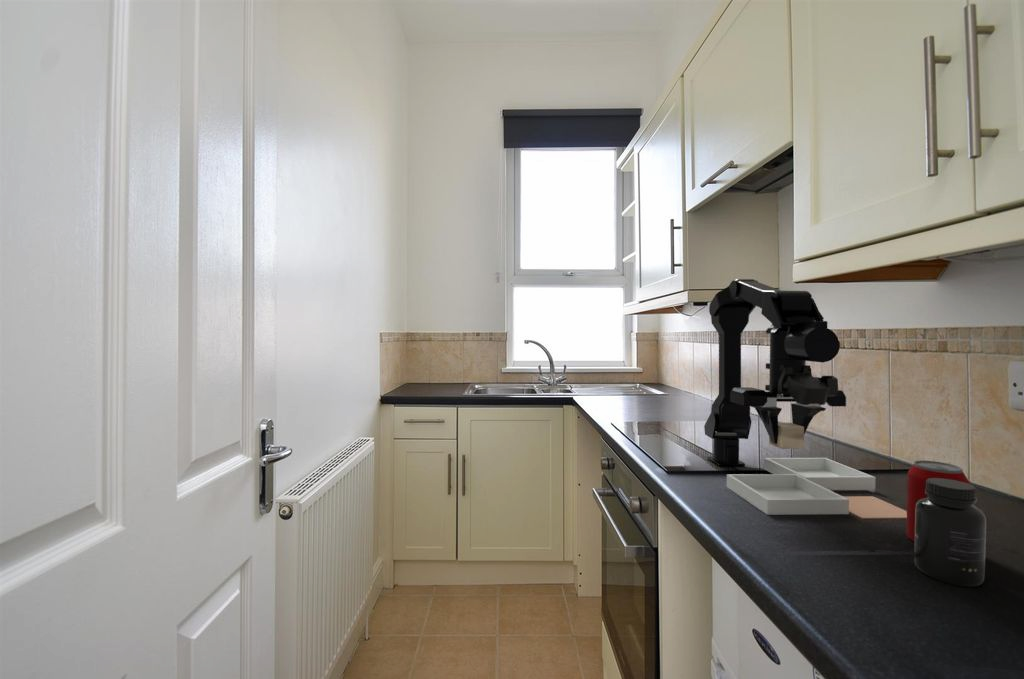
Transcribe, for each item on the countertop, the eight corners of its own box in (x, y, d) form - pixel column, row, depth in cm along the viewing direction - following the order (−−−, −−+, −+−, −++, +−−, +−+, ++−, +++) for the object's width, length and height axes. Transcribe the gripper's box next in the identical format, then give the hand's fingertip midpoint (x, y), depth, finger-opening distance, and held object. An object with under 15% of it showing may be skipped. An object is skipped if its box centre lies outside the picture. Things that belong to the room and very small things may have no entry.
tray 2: (763, 471, 107) (764, 457, 107) (825, 470, 107) (825, 457, 107) (804, 492, 93) (805, 477, 93) (875, 492, 93) (875, 477, 93)
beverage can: (949, 539, 72) (951, 461, 72) (979, 559, 66) (981, 474, 66) (897, 533, 74) (898, 457, 74) (921, 553, 68) (923, 469, 67)
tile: (821, 499, 89) (821, 496, 89) (873, 499, 89) (873, 496, 89) (862, 521, 79) (862, 517, 79) (920, 520, 79) (920, 517, 79)
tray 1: (726, 489, 95) (726, 474, 94) (796, 488, 95) (796, 474, 95) (767, 517, 80) (767, 499, 80) (848, 516, 81) (849, 499, 81)
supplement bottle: (901, 560, 66) (902, 474, 65) (954, 562, 65) (956, 476, 65) (940, 586, 59) (942, 490, 59) (1001, 590, 58) (1003, 493, 58)
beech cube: (769, 443, 89) (769, 422, 89) (789, 443, 89) (790, 422, 89) (781, 448, 85) (782, 426, 85) (803, 448, 85) (804, 426, 85)
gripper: (762, 361, 79) (760, 454, 79) (871, 362, 79) (869, 454, 80) (729, 357, 90) (728, 439, 90) (825, 358, 90) (823, 439, 91)
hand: (785, 443), depth 87 cm, fingers closed on beech cube, 4 cm apart
